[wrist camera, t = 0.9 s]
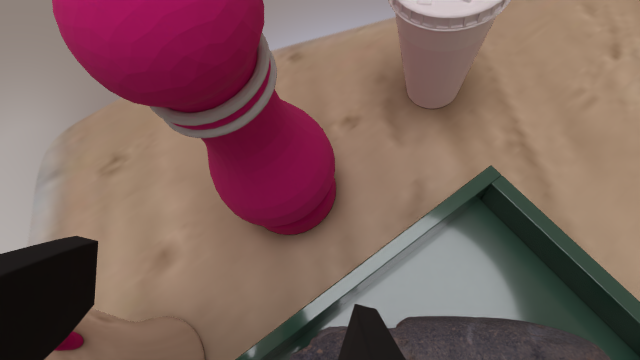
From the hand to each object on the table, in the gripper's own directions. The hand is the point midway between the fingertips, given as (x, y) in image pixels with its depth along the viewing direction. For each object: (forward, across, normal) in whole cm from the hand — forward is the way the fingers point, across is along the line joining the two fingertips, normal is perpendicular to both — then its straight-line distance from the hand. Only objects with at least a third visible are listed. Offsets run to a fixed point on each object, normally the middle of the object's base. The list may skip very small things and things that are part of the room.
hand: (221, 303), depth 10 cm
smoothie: (+20, -8, -7) cm, 23 cm away
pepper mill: (+16, 0, +2) cm, 16 cm away
